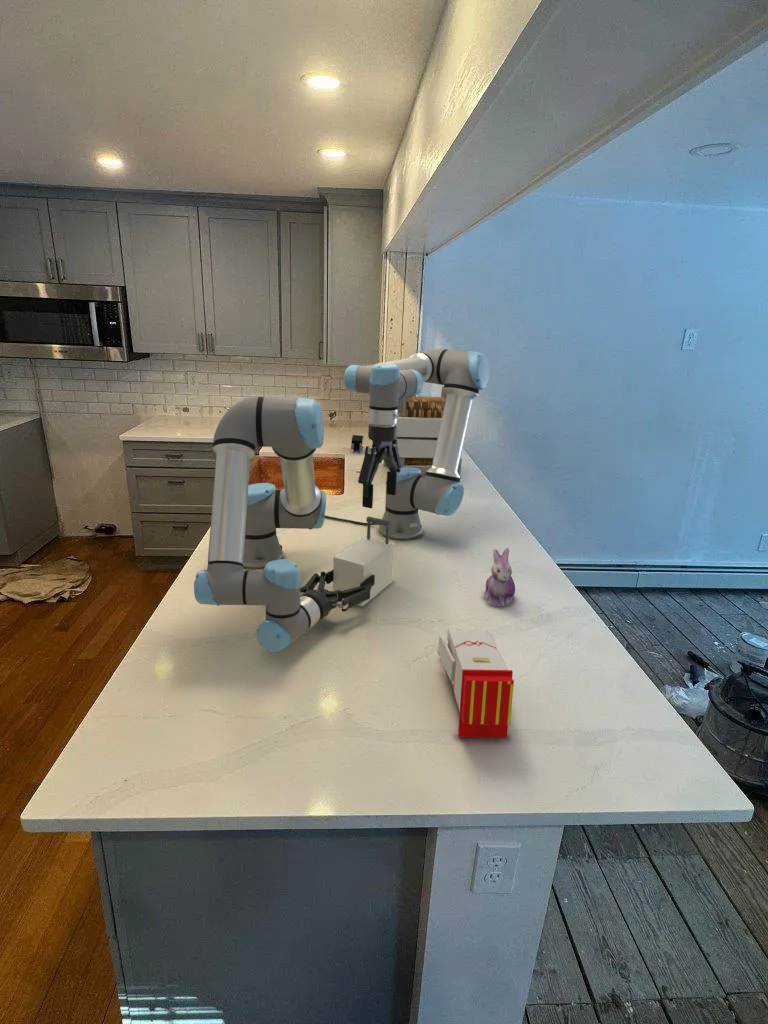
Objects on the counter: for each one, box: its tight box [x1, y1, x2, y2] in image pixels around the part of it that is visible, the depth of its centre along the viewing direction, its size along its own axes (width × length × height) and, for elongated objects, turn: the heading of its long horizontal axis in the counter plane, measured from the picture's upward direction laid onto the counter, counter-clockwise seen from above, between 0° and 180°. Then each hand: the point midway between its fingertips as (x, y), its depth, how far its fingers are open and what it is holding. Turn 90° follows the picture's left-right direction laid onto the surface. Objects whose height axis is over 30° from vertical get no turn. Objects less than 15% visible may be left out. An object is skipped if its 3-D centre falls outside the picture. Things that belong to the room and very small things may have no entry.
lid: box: [333, 516, 396, 569], centre depth 155 cm, size 18×9×8 cm, turn 152°
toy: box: [437, 628, 515, 738], centre depth 117 cm, size 12×13×30 cm
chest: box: [332, 547, 395, 607], centre depth 158 cm, size 17×9×11 cm, turn 152°
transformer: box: [383, 386, 463, 477], centre depth 268 cm, size 34×33×41 cm
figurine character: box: [350, 434, 364, 454], centre depth 311 cm, size 7×8×15 cm
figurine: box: [484, 547, 516, 607], centre depth 155 cm, size 9×10×15 cm
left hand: (356, 574), depth 154 cm, fingers open, 10 cm apart
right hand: (379, 500), depth 157 cm, fingers open, 13 cm apart
